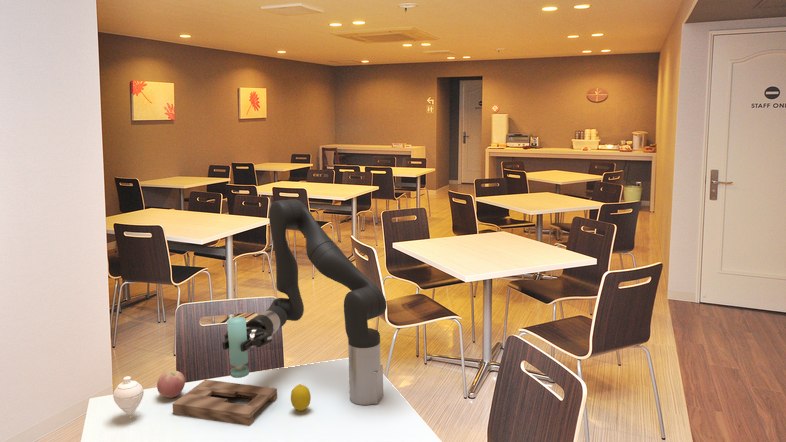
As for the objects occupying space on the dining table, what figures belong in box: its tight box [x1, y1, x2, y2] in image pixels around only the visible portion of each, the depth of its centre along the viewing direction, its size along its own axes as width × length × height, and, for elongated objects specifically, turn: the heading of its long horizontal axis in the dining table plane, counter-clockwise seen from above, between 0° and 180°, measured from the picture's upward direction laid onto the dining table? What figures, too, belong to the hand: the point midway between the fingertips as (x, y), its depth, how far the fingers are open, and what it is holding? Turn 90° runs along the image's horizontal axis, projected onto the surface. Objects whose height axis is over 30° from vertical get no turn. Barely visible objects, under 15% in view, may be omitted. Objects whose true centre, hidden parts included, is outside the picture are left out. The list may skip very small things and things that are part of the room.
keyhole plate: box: [172, 379, 278, 426], centre depth 171 cm, size 24×16×3 cm, turn 74°
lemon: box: [290, 383, 312, 412], centre depth 167 cm, size 6×6×8 cm
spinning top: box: [112, 375, 145, 419], centre depth 164 cm, size 8×8×12 cm
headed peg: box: [226, 316, 250, 379], centre depth 166 cm, size 5×5×16 cm
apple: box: [156, 369, 186, 399], centre depth 176 cm, size 8×8×8 cm
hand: (233, 347), depth 164 cm, fingers closed on headed peg, 5 cm apart
